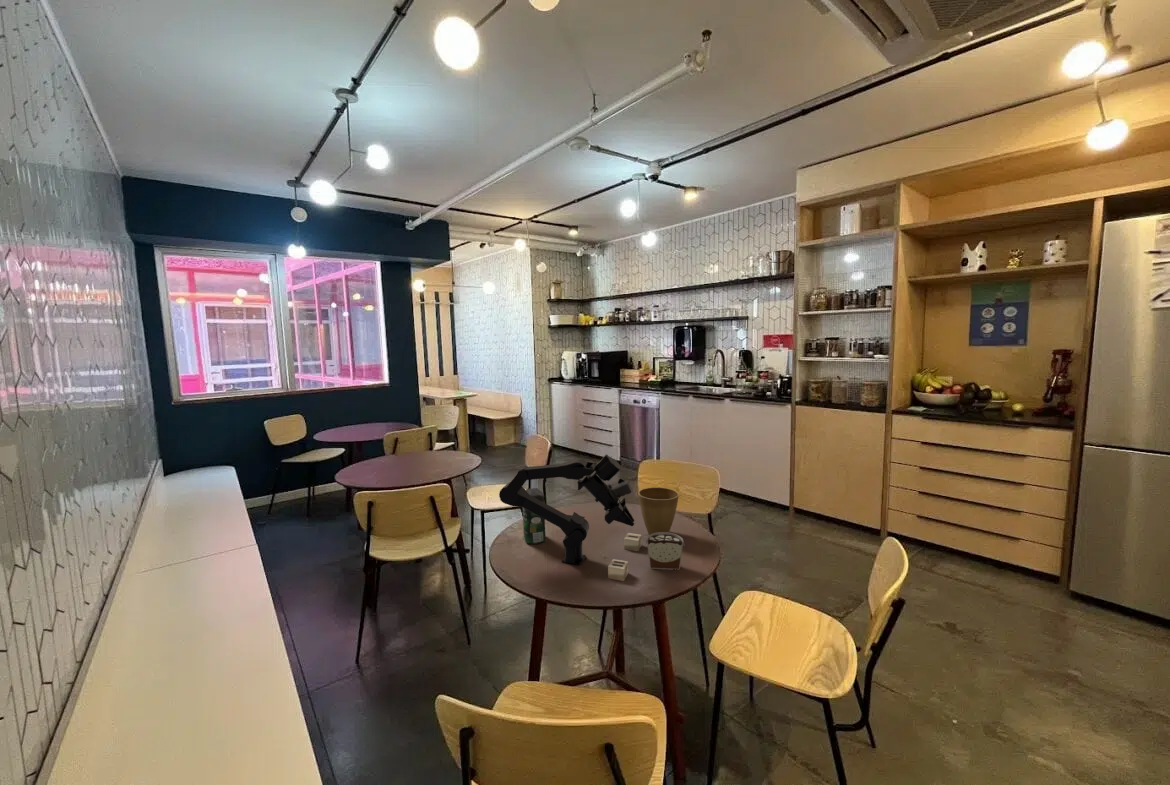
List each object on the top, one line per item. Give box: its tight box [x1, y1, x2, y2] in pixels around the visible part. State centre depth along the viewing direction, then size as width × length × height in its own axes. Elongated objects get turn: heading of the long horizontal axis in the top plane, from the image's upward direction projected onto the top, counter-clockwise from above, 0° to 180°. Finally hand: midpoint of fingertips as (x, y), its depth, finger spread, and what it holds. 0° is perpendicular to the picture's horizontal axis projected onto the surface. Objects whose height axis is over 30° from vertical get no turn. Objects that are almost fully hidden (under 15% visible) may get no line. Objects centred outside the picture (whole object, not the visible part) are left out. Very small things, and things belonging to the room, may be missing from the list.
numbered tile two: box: [607, 558, 629, 582], centre depth 147 cm, size 5×5×4 cm
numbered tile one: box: [623, 532, 643, 552], centre depth 167 cm, size 5×5×4 cm
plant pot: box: [638, 486, 680, 536], centre depth 177 cm, size 15×15×16 cm
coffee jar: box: [522, 487, 546, 545], centre depth 173 cm, size 10×8×19 cm
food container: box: [645, 532, 686, 571], centre depth 153 cm, size 12×6×10 cm, turn 84°
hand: (633, 523), depth 153 cm, fingers open, 3 cm apart
